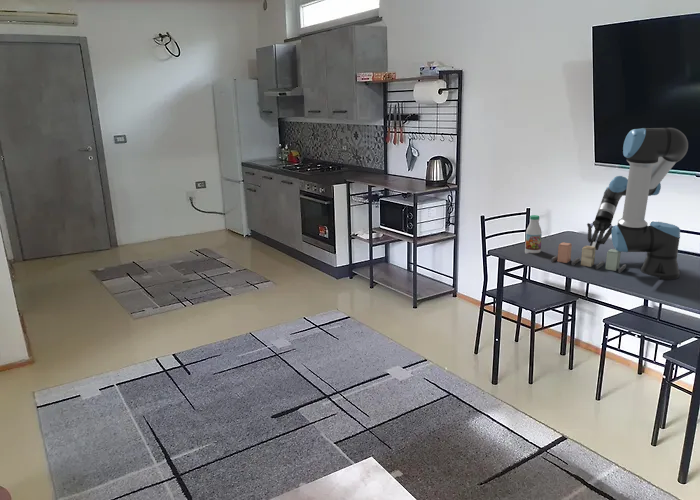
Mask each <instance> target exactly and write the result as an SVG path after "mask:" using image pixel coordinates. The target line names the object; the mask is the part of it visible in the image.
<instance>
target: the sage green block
mask: <svg viewBox="0 0 700 500" xmlns="http://www.w3.org/2000/svg"><path fill="white" fill-rule="evenodd" d="M621 254H622V252H619V251H617V250H616V249H615V248H610V249H609V250H607V252H606V259H605V270H607V271H608V270H609V271H614V272H616V271H618V269H619V268H620V264H621Z"/></svg>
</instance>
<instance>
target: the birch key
mask: <svg viewBox="0 0 700 500" xmlns="http://www.w3.org/2000/svg"><path fill="white" fill-rule="evenodd" d="M595 249H596V248H595V247H593V246H590V245H584V246H583V247H582V248H581V257H580V266H583V267H590V268H591V267H593V266H594V265H595V258H596V250H595Z"/></svg>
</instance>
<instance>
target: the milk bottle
mask: <svg viewBox="0 0 700 500" xmlns="http://www.w3.org/2000/svg"><path fill="white" fill-rule="evenodd" d="M529 221H530V222H529V224H528V226H527V228H526V231H525V241H524V243H525V245H524V253H525V254H526V255H527V254H529V253H530V254H539V253H541V251H542V250H541V249H542V228H541V225H540V215H537V214H536V215H535V214H532V215H530V216H529Z"/></svg>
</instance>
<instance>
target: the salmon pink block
mask: <svg viewBox="0 0 700 500" xmlns="http://www.w3.org/2000/svg"><path fill="white" fill-rule="evenodd" d="M572 248H573V247H572V242H571V243H570V242H564V241H562V242H561V243H559V244H558V247H557V249H558V250H557V255H558V259H557V260H556V261H557V262H558V263H564V264H568V263H569V262H572V261H571V259H572V257H571V256H572Z"/></svg>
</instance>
